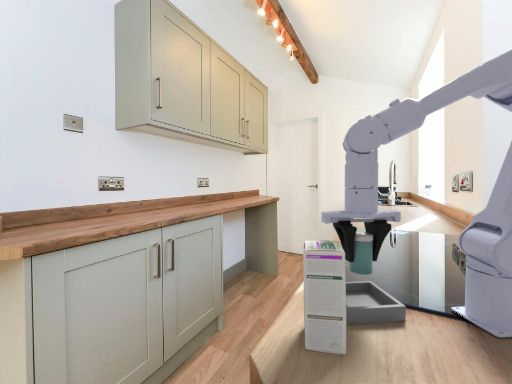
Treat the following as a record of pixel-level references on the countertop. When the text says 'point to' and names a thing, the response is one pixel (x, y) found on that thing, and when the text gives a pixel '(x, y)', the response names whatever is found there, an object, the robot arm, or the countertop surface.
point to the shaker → (362, 254)
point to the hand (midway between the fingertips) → (360, 260)
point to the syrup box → (324, 296)
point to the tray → (371, 304)
